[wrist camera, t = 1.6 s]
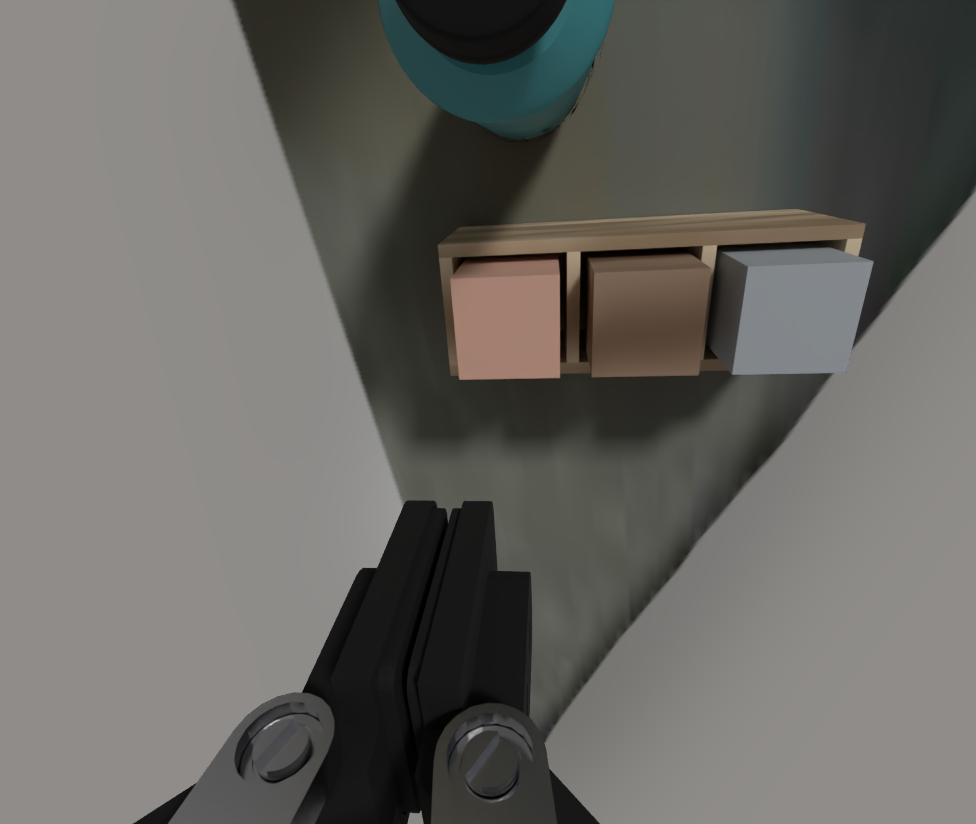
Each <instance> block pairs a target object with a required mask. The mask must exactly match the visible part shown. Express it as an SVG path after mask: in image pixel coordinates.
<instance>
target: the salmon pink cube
mask: <svg viewBox="0 0 976 824" xmlns="http://www.w3.org/2000/svg"><path fill="white" fill-rule="evenodd" d="M450 284H451V295H452V306H453V317H454V328H455V339H456V350H457V361H458V371H459V380H473V379H527V378H560V272H559V262H558V254H551V255H529V256H507V257H486V258H466V259H465V261H464V262H463V263H462V265H461V266H460V267H459V268H458V270H457V271H456V272H455V273H454V275H453V276H452V277H451V278H450Z"/></svg>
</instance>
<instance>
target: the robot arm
mask: <svg viewBox="0 0 976 824" xmlns="http://www.w3.org/2000/svg"><path fill="white" fill-rule="evenodd" d="M531 655H532V594H531V573H530V572H513V571H497V556H496V541H495V526H494V511H493V503H492V501H464V502H463V504H462V508H453V509H452V512H451V516H450V519H449V523H448V519H447V512H446V509H445V508H437V504H436V502H435V501H406V502H405V504H404V506H403V508H402V511H401V513H400V516H399V518H398V520H397V523H396V525H395V527H394V530H393V532H392V535H391V537H390V539H389V541H388V544H387V546H386V549H385V551H384V553H383V556H382V558H381V561H380V563H379V565H378V567H377V568H363V569H361V570H360V571H359V573H358V574H357V576H356V578H355V580H354V582H353V584H352V586H351V589H350V591H349V593H348V595H347V597H346V599H345V601H344V603H343V606H342V608H341V610H340V612H339V614H338V616H337V618H336V621H335V623H334V625H333V627H332V629H331V631H330V634H329V636H328V638H327V640H326V642H325V644H324V647H323V649H322V651H321V653H320V655H319V657H318V659H317V662H316V664H315V666H314V668H313V670H312V672H311V674H310V676H309V679H308V681H307V683H306V685H305V687H304V689H303V691H302V693H290V694H286V695H281V696H278V697H276V698H274V699H271V700H270V701H267V702H265V703H263V704H261V705H260V706H259V707H257V708H256V709H255V710H254V711H252V712H251V713H250V714H248V715H247V716H246V717H245V718H244V719H243V721H242V722H241V723H240V724H239V725H238V726H237V727H236V729H235V730H234V731H233V733H232V734H231V735H230V737H229V738H228V740H227V741H226V742H225V744H224V745H223V747H222V748H221V749H220V751H219V752H218V754H217V755H216V757H215V758H214V759H213V761H212V762H211V764H210V765H209V767H208V768H207V769H206V771H205V772H204V773H203V775H202V776H201V778H200V779H199V781H198V782H197V783H196V784H194V785H193V786H191V787H190V788H188V789H186V790H185V791H183V792H182V793H180V794H179V795H177V796H176V797H174V798H172V799H171V800H169V801H168V802H166V803H165V804H163V805H161V806H160V807H158V808H157V809H156V810H154V811H152V812H151V813H149V814H148V815H146V816H144V817H143V818H142V819H140V820H138V821H137V822H135V823H134V824H407V823H408V818H409V813H420V811H422V817H423V822H424V824H599V822H598V821H597V820H596V819H595V818H594V817H593V816H592V815H591V814H590V813H589V811H588V810H586V808H585V807H584V806H583V805H582V804H581V803H580V802H579V801H578V800H577V798H575V796H574V795H573V794H572V793H571V792H570V791H569V790H568V789H567V787H566V786H565V785H563V783H562V782H561V781H560V780H559V779H558V778H557V777H556V776H555V775H554V773H553V772H552V771H551V770H550V769H549V766H548V759H547V752H546V748H545V744H544V741H543V738H542V735H541V732H540V731H539V730H538V728H537V727H536V725H535V724H534V722H533V721H532V719H530V718H529V715H530V685H531Z"/></svg>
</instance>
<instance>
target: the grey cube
mask: <svg viewBox="0 0 976 824" xmlns="http://www.w3.org/2000/svg"><path fill="white" fill-rule="evenodd" d="M873 262H874V261H871V260H867V259H864V258H861V257H858V256H855V255H852V254H849V253H846V252H843V251H840V250H837V249H834V248H831V247H827V246H824V245H821V244H818V243H815V242H813V243H791V244H769V245H747V246H725V247H717V251H716V259H715V267H714V275H713V284H712V292H711V300H710V308H709V317H708V325H707V333H706V341H705V343H706V344H707V345H708V347H709V348H710V349H711V350H712V351H713V353H714V354H715V355H716V356H717V357H718V358H719V360H720V361H721V362H722V363H723V364H724V366H725V367H726V368H727V369H728V370H729V372H730V373H731V374H732V375H744V374H798V373H846V370H847V366H848V362H849V358H850V354H851V350H852V346H853V342H854V338H855V334H856V330H857V326H858V322H859V318H860V314H861V310H862V306H863V302H864V298H865V294H866V290H867V286H868V282H869V278H870V274H871V270H872V266H873Z"/></svg>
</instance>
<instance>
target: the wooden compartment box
mask: <svg viewBox="0 0 976 824" xmlns="http://www.w3.org/2000/svg"><path fill="white" fill-rule="evenodd" d="M865 225H866V224H865V223H860V222H855V221H851V220H846V219H841V218H836V217H832V216H827V215H822V214H818V213H813V212H808V211H804V210H799V209H786V210H768V211H749V212H730V213H711V214H692V215H673V216H654V217H636V218H617V219H598V220H579V221H560V222H541V223H523V224H504V225H485V226H466V227H459V228H458V229H457V230H455V231H454V232H453V233H452V234H450V235H449V236H448V237H447V238H446V239H444V240H443V241H442V242H441V243H439V244H438V253H439V263H440V274H441V284H442V294H443V304H444V314H445V324H446V334H447V345H448V355H449V365H450V375H451V376H459V371H458V361H457V350H456V339H455V328H454V317H453V306H452V295H451V284H450V278H451V277H452V276H453V275H454V273H455V272H456V271H457V270H458V268H459V267H460V266H461V265H462V263H463V262H464V261H465V259H466V258H486V257H507V256H529V255H551V254H558V262H559V272H560V374H580V373H591V372H590V367H589V362H588V357H587V352H586V346H585V294H586V253H595V252H616V251H638V250H660V249H682V248H683V249H684V250H686V251H687V252H689V253H690V254H691V255H693V256H694V257H696V258H697V259H699V260H700V261H702V262H703V263H705V264H706V265H708V266H709V267H710V268H711V276H710V284H709V292H708V301H707V309H706V318H705V326H704V334H703V343H702V351H701V359H700V368H699V371H729V370H728V369H727V368H726V367H725V366H724V364H723V363H722V362H721V361H720V360H719V358H718V357H717V356H716V355H715V354H714V353H713V351H712V350H711V349H710V348H709V347H708V345H707V344H706V343H705V341H706V333H707V325H708V317H709V308H710V300H711V292H712V284H713V275H714V267H715V259H716V251H717V247H725V246H747V245H769V244H791V243H813V242H815V243H818V244H821V245H824V246H827V247H831V248H834V249H837V250H840V251H843V252H846V253H849V254H852V255H855V256H858V255H859V251H860V247H861V242H862V238H863V234H864V230H865Z"/></svg>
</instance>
